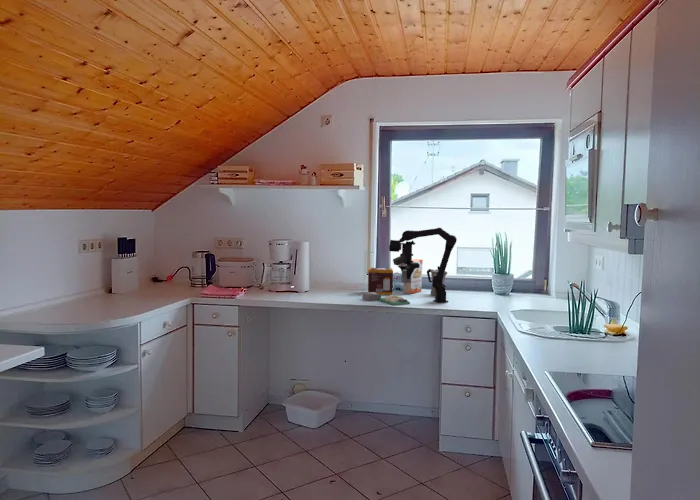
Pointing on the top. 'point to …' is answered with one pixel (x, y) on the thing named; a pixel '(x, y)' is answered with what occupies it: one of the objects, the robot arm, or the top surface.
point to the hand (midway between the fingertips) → (406, 278)
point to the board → (394, 300)
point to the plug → (405, 277)
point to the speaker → (371, 296)
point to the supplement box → (380, 280)
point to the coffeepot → (432, 278)
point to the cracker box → (414, 280)
